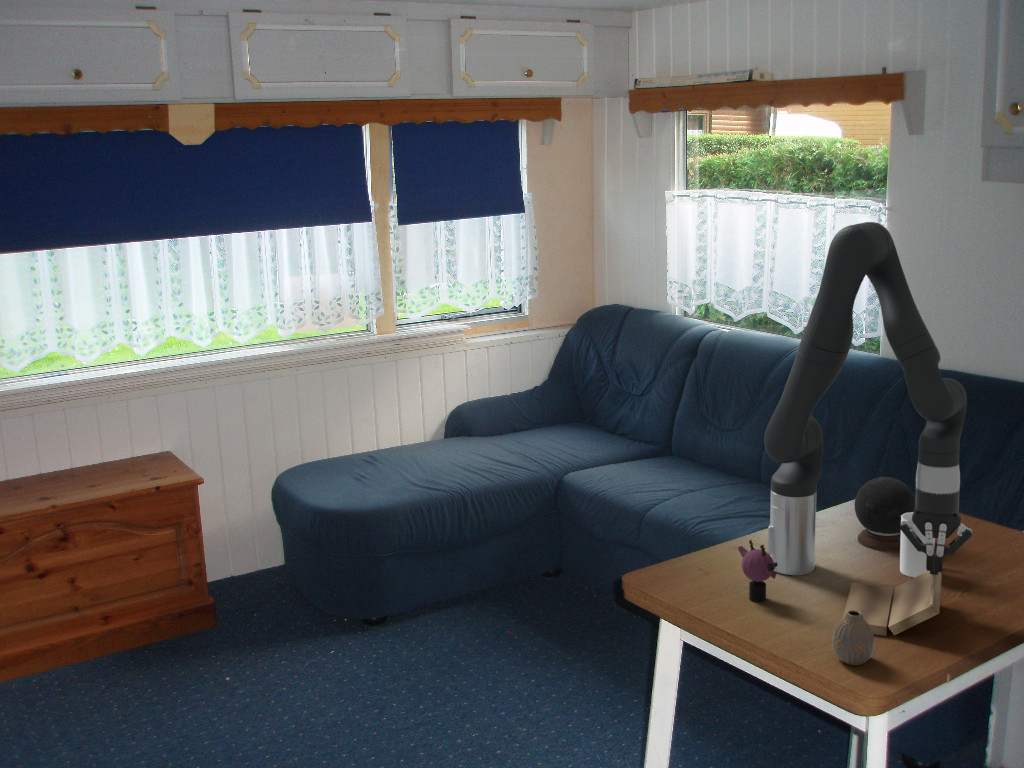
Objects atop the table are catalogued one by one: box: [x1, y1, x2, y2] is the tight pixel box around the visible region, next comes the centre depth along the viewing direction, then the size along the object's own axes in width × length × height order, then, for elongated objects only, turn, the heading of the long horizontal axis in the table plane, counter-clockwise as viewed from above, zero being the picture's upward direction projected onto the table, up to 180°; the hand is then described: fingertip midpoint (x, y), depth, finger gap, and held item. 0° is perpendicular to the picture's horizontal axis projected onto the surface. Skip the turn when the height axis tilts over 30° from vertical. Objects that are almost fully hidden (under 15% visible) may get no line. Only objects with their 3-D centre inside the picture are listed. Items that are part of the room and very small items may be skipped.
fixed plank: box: [842, 582, 894, 637], centre depth 189 cm, size 8×18×2 cm, turn 156°
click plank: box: [888, 571, 943, 636], centre depth 185 cm, size 9×18×2 cm
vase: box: [831, 610, 876, 666], centre depth 171 cm, size 7×7×9 cm
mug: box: [899, 512, 936, 579], centre depth 206 cm, size 10×7×12 cm, turn 132°
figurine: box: [737, 539, 778, 603], centre depth 196 cm, size 8×8×12 cm
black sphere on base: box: [854, 476, 915, 552], centre depth 222 cm, size 13×13×15 cm
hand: (934, 572), depth 188 cm, fingers closed
